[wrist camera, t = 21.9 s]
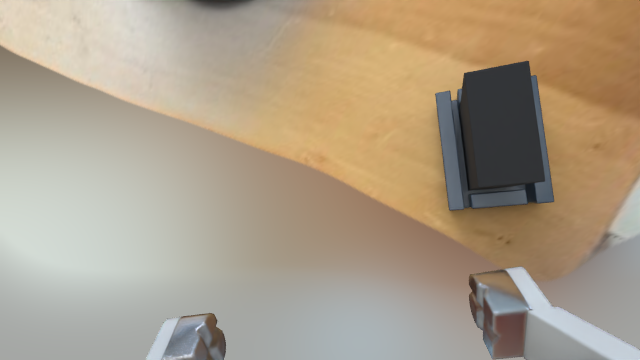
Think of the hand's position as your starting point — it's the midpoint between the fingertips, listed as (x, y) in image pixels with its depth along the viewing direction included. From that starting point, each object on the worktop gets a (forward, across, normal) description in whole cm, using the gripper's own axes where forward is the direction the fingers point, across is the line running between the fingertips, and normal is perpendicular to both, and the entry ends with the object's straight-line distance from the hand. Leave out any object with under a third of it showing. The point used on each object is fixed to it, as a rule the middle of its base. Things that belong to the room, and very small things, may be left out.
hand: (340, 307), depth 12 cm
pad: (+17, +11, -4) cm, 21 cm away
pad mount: (+18, +12, -5) cm, 22 cm away
